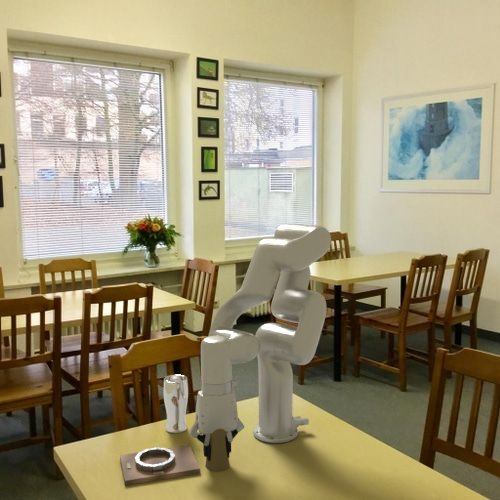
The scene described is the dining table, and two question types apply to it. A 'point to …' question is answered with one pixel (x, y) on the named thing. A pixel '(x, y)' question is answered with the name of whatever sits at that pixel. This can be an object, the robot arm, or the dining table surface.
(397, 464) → the dining table surface
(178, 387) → the beer glass
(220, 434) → the cork
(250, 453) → the dining table surface
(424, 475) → the dining table surface
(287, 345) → the robot arm
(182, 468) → the board
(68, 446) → the dining table surface
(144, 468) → the hub ring
